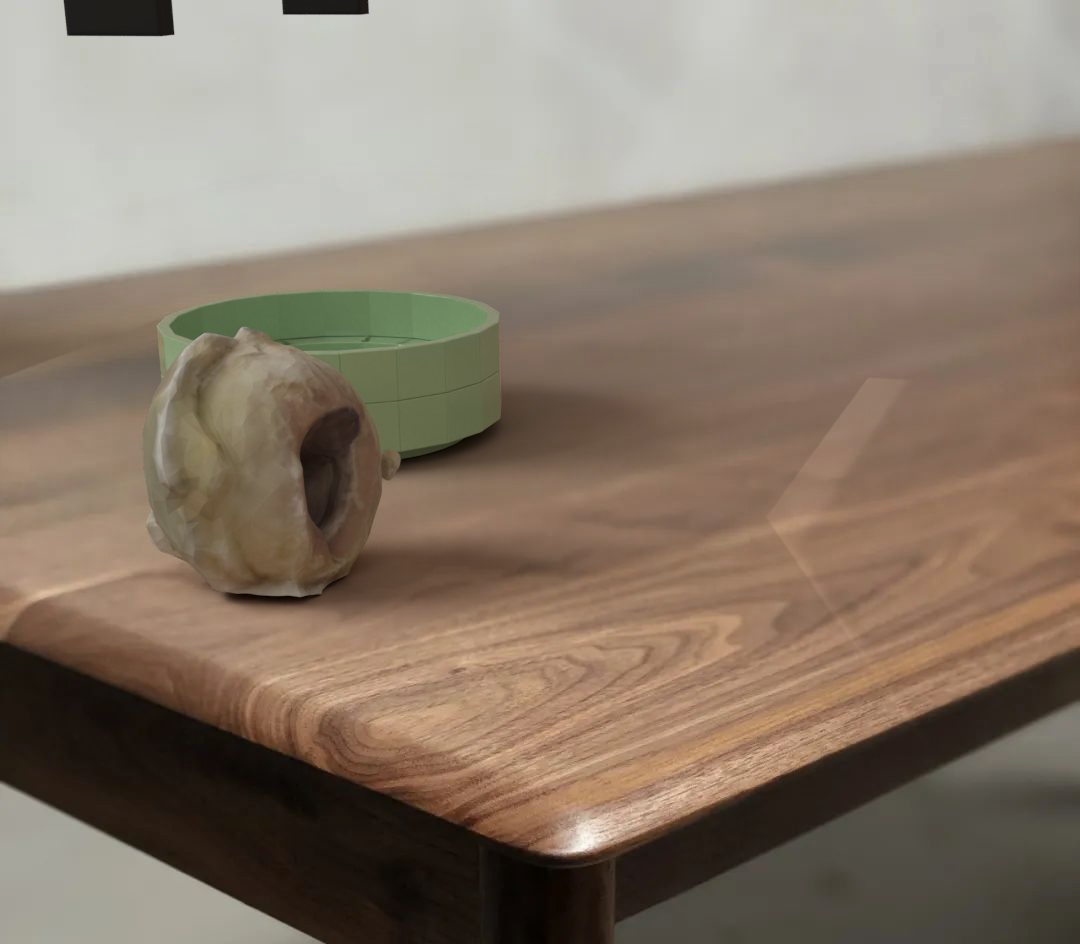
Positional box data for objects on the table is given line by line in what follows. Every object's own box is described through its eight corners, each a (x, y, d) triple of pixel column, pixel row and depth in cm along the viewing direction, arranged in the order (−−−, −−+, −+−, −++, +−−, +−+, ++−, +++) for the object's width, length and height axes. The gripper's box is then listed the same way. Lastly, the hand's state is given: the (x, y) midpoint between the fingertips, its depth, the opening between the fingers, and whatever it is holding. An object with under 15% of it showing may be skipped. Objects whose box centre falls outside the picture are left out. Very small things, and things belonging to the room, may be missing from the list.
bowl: (105, 460, 86) (93, 342, 84) (259, 385, 100) (252, 282, 98) (430, 486, 81) (426, 362, 79) (544, 404, 95) (543, 296, 93)
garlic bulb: (188, 667, 68) (68, 431, 62) (204, 560, 75) (97, 340, 69) (429, 587, 67) (328, 341, 61) (422, 486, 74) (331, 258, 69)
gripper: (37, -1193, 33) (146, 48, 42) (476, -748, 55) (490, 7, 64) (-307, -1125, 35) (-138, 46, 44) (248, -722, 57) (290, 7, 66)
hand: (234, 25), depth 54 cm, fingers open, 13 cm apart
